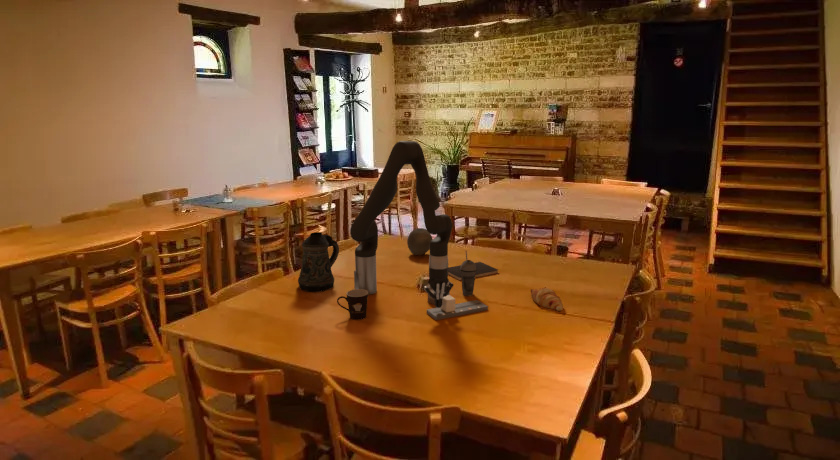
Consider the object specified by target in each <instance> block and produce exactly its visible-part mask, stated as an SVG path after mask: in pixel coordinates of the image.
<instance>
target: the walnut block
mask: <svg viewBox="0 0 840 460" xmlns="http://www.w3.org/2000/svg"><path fill="white" fill-rule="evenodd" d="M430 291H431V292H432V293H433V289H430ZM427 303H429V304H430V305H431V304H432V305H434V299H433V298H432V297H430V296H429V295H428V294H427Z"/></svg>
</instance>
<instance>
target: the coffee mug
mask: <svg viewBox="0 0 840 460" xmlns="http://www.w3.org/2000/svg"><path fill="white" fill-rule="evenodd" d="M340 299H345V301H346V302H347V306H348V308H347V307H346V306H344V305H341V303H340V302H339V300H340ZM368 300H369V295H368V291H367V290H363V289H355V288H353V289H351V290H348V291H346V296H342V295H341V296H339V297H337V301H336V303H337V305H338V306H340V307H341V308H343V309H344V310H346V311H348V313H349V317H350V319H352V320H353V321H354V320H355V321H360V320H364V319H366V318H367V315H368V314H367V313H368V311H367V310H368V302H369V301H368Z"/></svg>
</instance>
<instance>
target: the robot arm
mask: <svg viewBox="0 0 840 460" xmlns="http://www.w3.org/2000/svg"><path fill="white" fill-rule="evenodd" d="M425 159H426V158H425V156H424V151H423V149H422V146H421V144H420V143H419V142H418V141H415V140H400V141H398V142H396V143H395V144H394V145H393V147H392V148H391V150H390V153H389V156H388V158H387V161H386V163H385V165H384V168H383V170H382V172H381V173H380V175H379V178H378V180H377V181H376V183H375V185H374V186H373V188H372V190H371V191H370V194H369V196H368V198H367V199H366V201H365V203H364V204H363V205H364V206H363V207H362V209H361V210H360V211H359V214H358V215H357V216H356V217H355V219H354V220H353V222H352V224H351V226H350V230H349V233H350V237H351V239H352V240H353V241H354V242H359V244H358V245H357V246H356V247H355V249H354V263H355V264H354V267H355V270H354V271H353V277H354V280H353V283H354V289H363V290H367V291H368V296H369V295H373V294H376V293H377V292H378V291H377V290H378V284H377V280H378V279H377V250H378V247H379V245H378V244H379V229H378V224H377V222H376V219H377V218H378V216H380V215H381V214H382V213H384V211H386V210H387V208H388V207H389V206H390V205H391V204H392V202H393V201H394V198H395V197H396V194H397V192H398V176H399V174H400V172H401V171H402V169H403V167H404V166H405V165H411V168H412V169H413V171H414V173H415V193H416V197H417V200H418V202H419V204H420V207H421V209H422V214H423V221H424V222H423V223H424V228H425V229H426V230H427V231H428V232H429V233H430V234H431V236H432V235H433V236H435V235H436V236H435V237H434V238H432V239H433V240H431V241H430V249H429V258H428V282H427V284H426V285H424V286H423V287H422V289H423V290H424V291H425V292H426V294H427V296H428V295H429V296H430V297H432V298H433V299H434V304H433V306H435V308H440V307H441V306H442V298H443V297H444V296H445V297H446V296H447V295H448V293H449V291H450V292H451V290H452V288H453V287H454V283H453V282H451V281H450V279H449V274H448V267H449V255H448V254H449V253H448V251H449V250H448V248H449V246H448V245H449V241H450V238H451V235H452V231H453V220H452V218H451V216H450V215H448V214H445V213H442V214H437V215H436V211H437V210H438V209H439V208H440V207H441V203H440V201H439V198H438V195H437V193H436V191H435V189H434V186H433V184H432V181H431V177H430V174H429V169H428V166H427V162H426V160H425ZM449 281H450V282H449ZM430 290H433V293H432V292H431V291H430Z"/></svg>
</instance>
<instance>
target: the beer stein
mask: <svg viewBox="0 0 840 460" xmlns="http://www.w3.org/2000/svg"><path fill="white" fill-rule="evenodd" d="M301 247H302V257H301V265H300V266H301V267H300V272H299V276H298V279H297V283H298V287H299V289H300V290H301V291H302V292H306V293H317V292H319V293H321V292H325V291H329V290H331V289H332V288H334V286H335V285H334V283H335V277H334V275H333V274H334V273H333V272H332V267H333V265H334V264H335V263H336V261H337V259H338V256H339V253H340V247H339V244H338V241H336V240H334V239H333V237H332V235H331V236H330V235H328V234H323V233H322V232H318V231H316V232H311V233H310V234H309V236H307V238H306V239H305V240H303V241H302V243H301ZM329 247H332V253H331V255H329Z"/></svg>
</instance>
